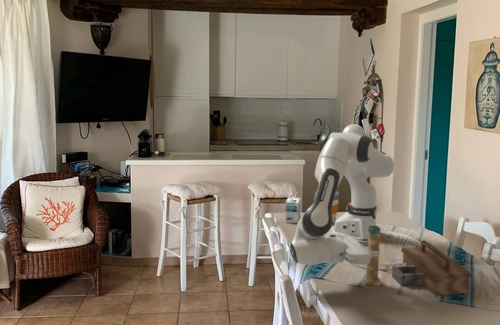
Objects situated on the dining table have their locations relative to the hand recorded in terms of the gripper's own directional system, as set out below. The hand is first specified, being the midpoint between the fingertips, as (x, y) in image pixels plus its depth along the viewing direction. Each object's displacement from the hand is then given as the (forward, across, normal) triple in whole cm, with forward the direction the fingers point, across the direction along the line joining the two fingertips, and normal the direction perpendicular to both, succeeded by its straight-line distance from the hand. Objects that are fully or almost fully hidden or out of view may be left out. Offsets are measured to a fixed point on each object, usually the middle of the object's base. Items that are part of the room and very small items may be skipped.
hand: (373, 248), depth 177 cm
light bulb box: (-12, +80, +13) cm, 82 cm away
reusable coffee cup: (+5, +76, +13) cm, 77 cm away
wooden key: (0, 0, +13) cm, 13 cm away
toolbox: (+20, 0, +13) cm, 24 cm away
